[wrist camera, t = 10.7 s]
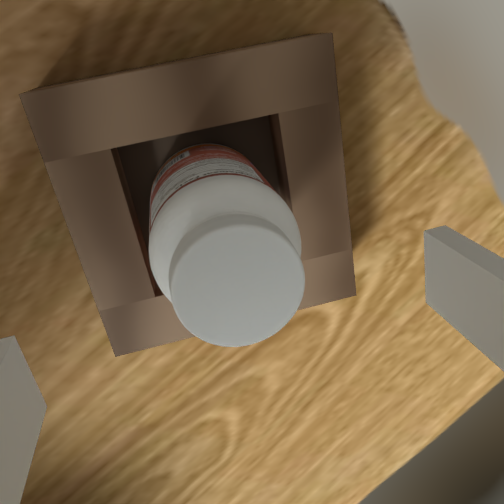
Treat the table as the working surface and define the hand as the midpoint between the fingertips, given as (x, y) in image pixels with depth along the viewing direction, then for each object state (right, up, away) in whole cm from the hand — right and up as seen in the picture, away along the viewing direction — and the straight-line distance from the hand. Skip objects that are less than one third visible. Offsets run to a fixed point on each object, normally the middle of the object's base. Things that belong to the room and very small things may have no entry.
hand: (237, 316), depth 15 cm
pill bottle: (-2, +5, +11) cm, 12 cm away
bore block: (-2, +6, +12) cm, 13 cm away
